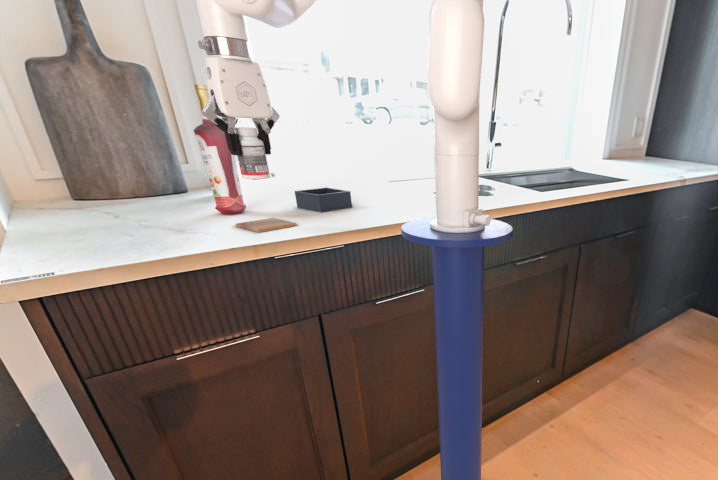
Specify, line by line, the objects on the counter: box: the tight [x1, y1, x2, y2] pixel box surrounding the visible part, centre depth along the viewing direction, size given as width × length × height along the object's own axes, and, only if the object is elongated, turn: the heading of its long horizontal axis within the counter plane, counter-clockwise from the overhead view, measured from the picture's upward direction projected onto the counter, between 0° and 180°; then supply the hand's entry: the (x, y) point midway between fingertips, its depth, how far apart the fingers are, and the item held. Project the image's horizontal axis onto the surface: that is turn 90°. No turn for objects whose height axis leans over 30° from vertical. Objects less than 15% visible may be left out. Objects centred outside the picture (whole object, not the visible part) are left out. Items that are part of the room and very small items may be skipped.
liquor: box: [193, 84, 248, 215], centre depth 101 cm, size 7×7×28 cm
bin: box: [294, 187, 353, 213], centre depth 117 cm, size 10×10×4 cm
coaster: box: [234, 217, 298, 233], centre depth 96 cm, size 9×9×1 cm
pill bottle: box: [235, 127, 271, 180], centre depth 89 cm, size 5×5×10 cm
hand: (251, 153), depth 89 cm, fingers closed on pill bottle, 5 cm apart
